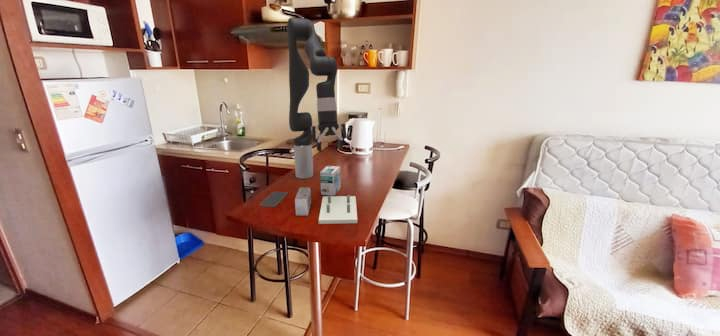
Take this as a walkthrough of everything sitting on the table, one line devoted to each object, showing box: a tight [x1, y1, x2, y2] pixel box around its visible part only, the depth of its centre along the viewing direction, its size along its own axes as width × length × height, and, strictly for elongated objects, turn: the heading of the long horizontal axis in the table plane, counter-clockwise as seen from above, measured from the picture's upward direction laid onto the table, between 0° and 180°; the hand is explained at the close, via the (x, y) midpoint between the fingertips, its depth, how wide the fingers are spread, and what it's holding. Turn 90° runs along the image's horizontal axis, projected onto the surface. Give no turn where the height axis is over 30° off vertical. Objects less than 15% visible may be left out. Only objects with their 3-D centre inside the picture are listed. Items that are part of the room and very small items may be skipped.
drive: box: [294, 187, 312, 217], centre depth 121 cm, size 12×5×7 cm, turn 3°
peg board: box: [318, 194, 358, 225], centre depth 120 cm, size 22×14×4 cm, turn 3°
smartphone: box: [258, 191, 289, 208], centre depth 131 cm, size 7×1×15 cm
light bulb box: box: [319, 165, 342, 196], centre depth 139 cm, size 11×7×11 cm, turn 168°
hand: (330, 150), depth 122 cm, fingers open, 8 cm apart
